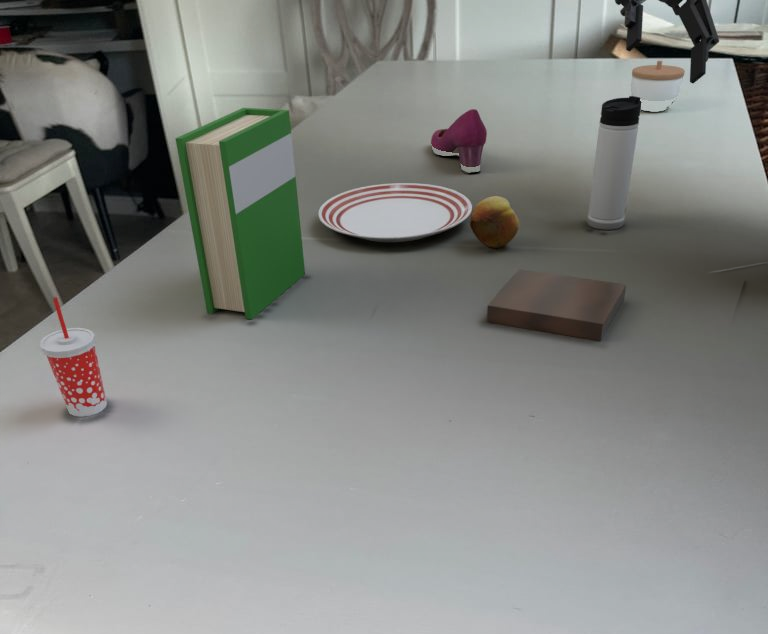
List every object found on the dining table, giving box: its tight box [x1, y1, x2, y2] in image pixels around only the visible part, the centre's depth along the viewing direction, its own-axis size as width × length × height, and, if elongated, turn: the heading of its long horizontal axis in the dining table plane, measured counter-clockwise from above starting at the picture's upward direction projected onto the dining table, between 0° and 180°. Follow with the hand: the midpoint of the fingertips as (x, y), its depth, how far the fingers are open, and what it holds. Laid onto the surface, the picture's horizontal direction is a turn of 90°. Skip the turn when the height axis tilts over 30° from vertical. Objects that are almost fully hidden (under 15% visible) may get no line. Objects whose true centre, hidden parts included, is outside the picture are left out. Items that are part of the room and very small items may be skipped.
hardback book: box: [174, 107, 306, 320], centre depth 116 cm, size 18×7×24 cm, turn 158°
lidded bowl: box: [630, 60, 686, 101], centre depth 204 cm, size 13×13×11 cm
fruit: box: [469, 195, 520, 249], centre depth 133 cm, size 8×8×8 cm
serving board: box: [486, 268, 627, 342], centre depth 114 cm, size 16×14×2 cm
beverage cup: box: [39, 296, 108, 418], centre depth 94 cm, size 6×6×14 cm
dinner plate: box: [317, 182, 473, 243], centre depth 145 cm, size 27×27×3 cm
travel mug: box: [586, 95, 642, 231], centre depth 136 cm, size 6×7×20 cm
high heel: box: [430, 108, 488, 174], centre depth 174 cm, size 9×26×12 cm, turn 18°
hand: (666, 62), depth 132 cm, fingers open, 13 cm apart
